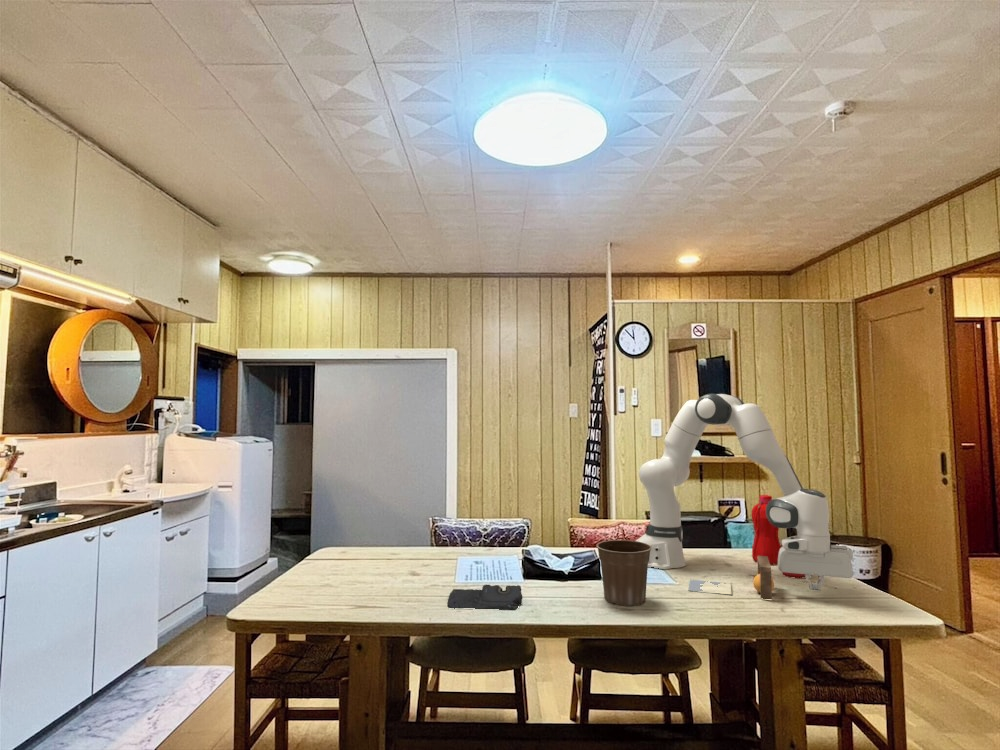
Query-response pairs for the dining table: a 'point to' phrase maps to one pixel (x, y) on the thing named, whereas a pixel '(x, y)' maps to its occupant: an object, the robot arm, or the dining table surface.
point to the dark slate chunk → (486, 598)
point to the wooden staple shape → (765, 577)
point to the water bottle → (764, 533)
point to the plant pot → (624, 571)
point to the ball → (757, 583)
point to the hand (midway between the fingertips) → (814, 589)
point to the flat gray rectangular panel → (695, 584)
